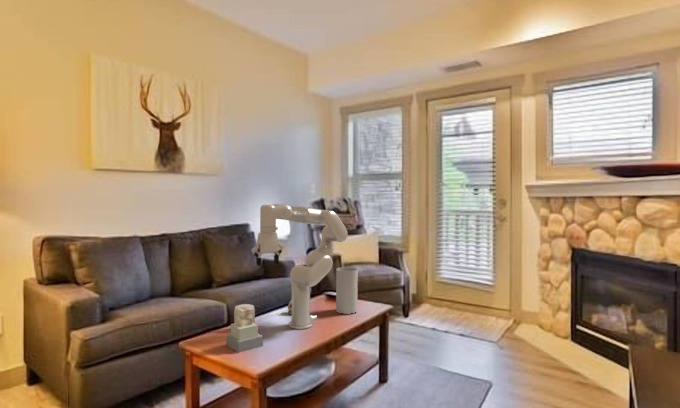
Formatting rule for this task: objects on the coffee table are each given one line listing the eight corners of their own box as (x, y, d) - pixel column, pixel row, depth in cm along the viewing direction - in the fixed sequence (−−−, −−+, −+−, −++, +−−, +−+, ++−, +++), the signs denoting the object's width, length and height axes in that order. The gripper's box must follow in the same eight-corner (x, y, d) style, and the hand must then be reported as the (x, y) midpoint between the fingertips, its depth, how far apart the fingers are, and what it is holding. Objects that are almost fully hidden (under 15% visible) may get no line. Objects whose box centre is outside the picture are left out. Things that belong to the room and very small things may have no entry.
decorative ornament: (285, 312, 241) (285, 286, 241) (297, 310, 245) (298, 285, 245) (291, 316, 235) (291, 289, 234) (303, 314, 239) (303, 288, 238)
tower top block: (248, 330, 196) (248, 320, 195) (257, 336, 189) (257, 325, 188) (230, 335, 190) (230, 324, 190) (239, 340, 183) (239, 329, 183)
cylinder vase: (336, 308, 251) (337, 267, 251) (357, 308, 251) (357, 267, 250) (335, 314, 239) (336, 271, 238) (357, 314, 238) (357, 271, 238)
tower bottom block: (250, 339, 198) (250, 329, 198) (263, 346, 189) (263, 336, 189) (226, 345, 190) (226, 334, 190) (238, 353, 181) (238, 342, 181)
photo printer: (234, 330, 209) (234, 306, 209) (234, 327, 214) (234, 304, 213) (254, 329, 212) (255, 305, 212) (254, 326, 216) (254, 302, 216)
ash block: (246, 321, 193) (246, 306, 193) (252, 324, 189) (252, 309, 189) (236, 324, 190) (237, 308, 190) (242, 326, 186) (242, 311, 186)
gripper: (278, 228, 212) (278, 261, 213) (248, 230, 201) (248, 265, 202) (287, 229, 207) (286, 263, 207) (256, 231, 195) (255, 267, 196)
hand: (267, 264), depth 204 cm, fingers open, 9 cm apart
